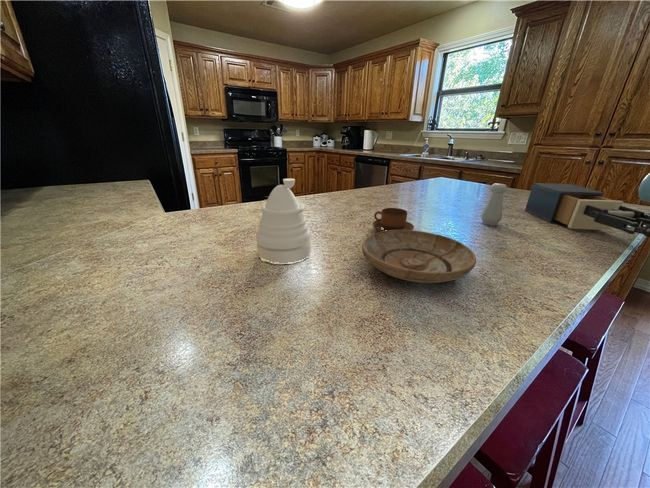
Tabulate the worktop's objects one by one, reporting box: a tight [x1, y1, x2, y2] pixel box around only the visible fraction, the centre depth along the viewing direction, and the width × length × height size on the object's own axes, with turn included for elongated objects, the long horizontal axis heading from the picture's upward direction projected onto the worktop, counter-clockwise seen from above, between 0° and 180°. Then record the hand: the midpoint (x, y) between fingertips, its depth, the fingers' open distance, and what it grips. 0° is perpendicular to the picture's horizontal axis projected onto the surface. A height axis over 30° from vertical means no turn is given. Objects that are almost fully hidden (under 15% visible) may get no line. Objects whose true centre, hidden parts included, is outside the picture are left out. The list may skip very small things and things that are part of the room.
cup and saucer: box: [372, 207, 415, 232], centre depth 80 cm, size 12×12×6 cm
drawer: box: [554, 194, 635, 231], centre depth 83 cm, size 20×11×9 cm, turn 174°
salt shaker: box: [480, 182, 508, 227], centre depth 85 cm, size 6×6×13 cm
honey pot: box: [256, 178, 312, 263], centre depth 62 cm, size 13×13×18 cm
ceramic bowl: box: [361, 229, 477, 284], centre depth 59 cm, size 23×24×5 cm
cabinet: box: [524, 182, 605, 224], centre depth 93 cm, size 15×13×11 cm
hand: (602, 210), depth 78 cm, fingers closed on drawer, 8 cm apart
